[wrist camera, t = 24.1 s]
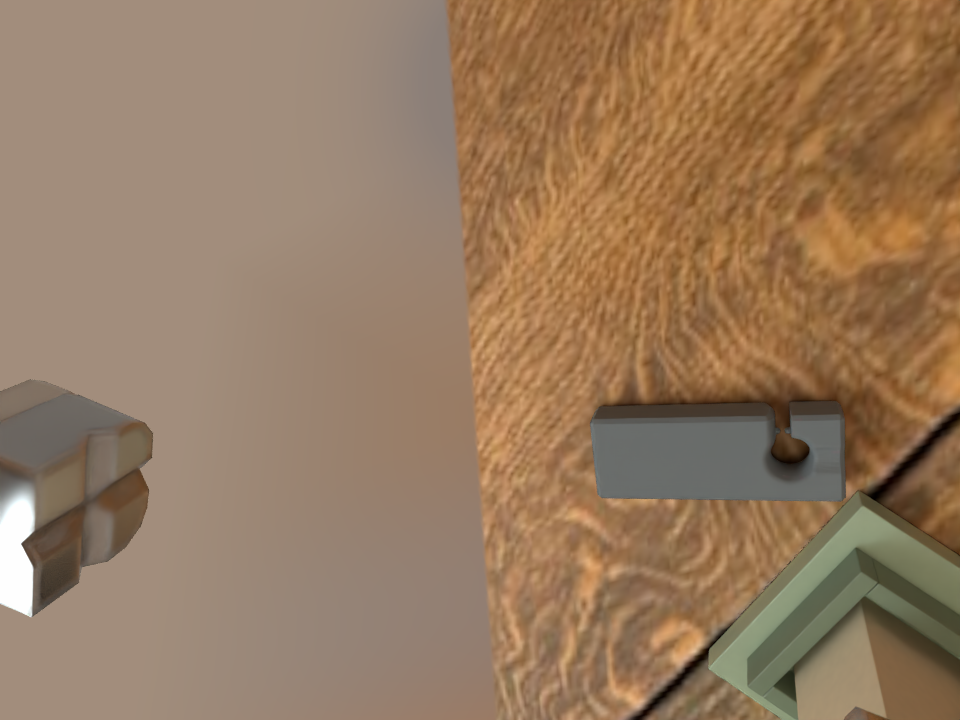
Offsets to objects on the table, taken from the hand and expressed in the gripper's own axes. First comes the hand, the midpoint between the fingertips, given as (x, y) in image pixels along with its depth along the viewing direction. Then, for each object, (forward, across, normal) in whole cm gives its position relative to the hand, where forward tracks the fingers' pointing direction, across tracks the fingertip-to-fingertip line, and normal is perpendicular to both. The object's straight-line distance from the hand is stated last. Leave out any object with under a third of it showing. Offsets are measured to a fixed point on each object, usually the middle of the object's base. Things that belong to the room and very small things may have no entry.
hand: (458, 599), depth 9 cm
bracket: (+28, -5, +9) cm, 30 cm away
